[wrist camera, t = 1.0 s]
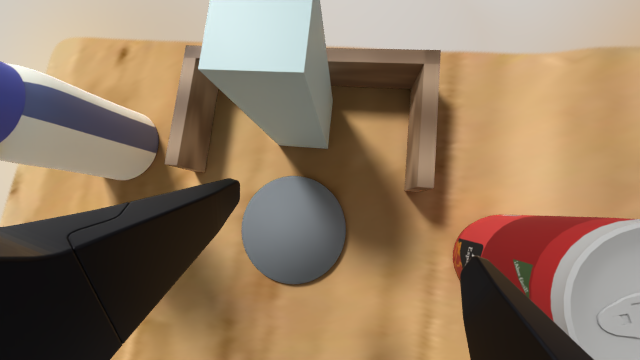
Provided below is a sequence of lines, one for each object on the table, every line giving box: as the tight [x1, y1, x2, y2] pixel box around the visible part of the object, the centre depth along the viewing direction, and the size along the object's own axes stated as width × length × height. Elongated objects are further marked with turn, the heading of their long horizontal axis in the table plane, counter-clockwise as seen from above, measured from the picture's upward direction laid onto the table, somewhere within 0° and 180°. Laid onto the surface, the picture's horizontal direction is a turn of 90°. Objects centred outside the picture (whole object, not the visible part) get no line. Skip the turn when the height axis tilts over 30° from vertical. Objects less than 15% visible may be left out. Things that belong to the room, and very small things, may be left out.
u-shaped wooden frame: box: [165, 46, 441, 192], centre depth 22 cm, size 11×22×4 cm, turn 84°
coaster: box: [242, 176, 346, 284], centre depth 22 cm, size 10×10×1 cm
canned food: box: [453, 215, 640, 360], centre depth 15 cm, size 8×8×11 cm
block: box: [198, 0, 333, 149], centre depth 17 cm, size 5×5×13 cm
